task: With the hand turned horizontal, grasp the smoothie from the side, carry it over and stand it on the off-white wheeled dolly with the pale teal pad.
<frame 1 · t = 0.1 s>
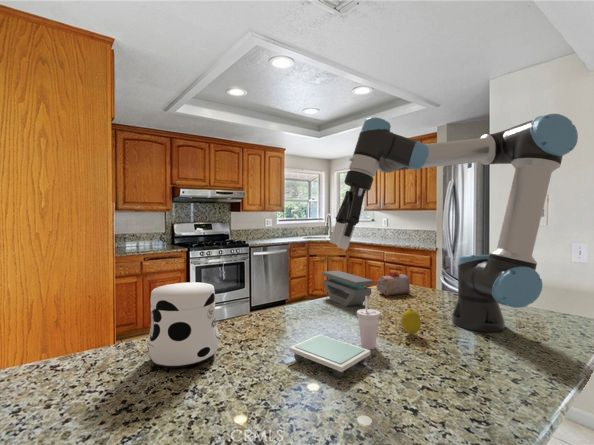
hand: (337, 246, 92), 28 cm above the countertop, tool tilted 20°, fingers open, 13 cm apart
lemon: (410, 335, 100), on the countertop
dolly: (329, 362, 82), on the countertop
milk container: (184, 358, 85), on the countertop
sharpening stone: (346, 302, 137), on the countertop
grey boxy piece: (393, 294, 151), on the countertop
smoothie: (368, 347, 91), on the countertop
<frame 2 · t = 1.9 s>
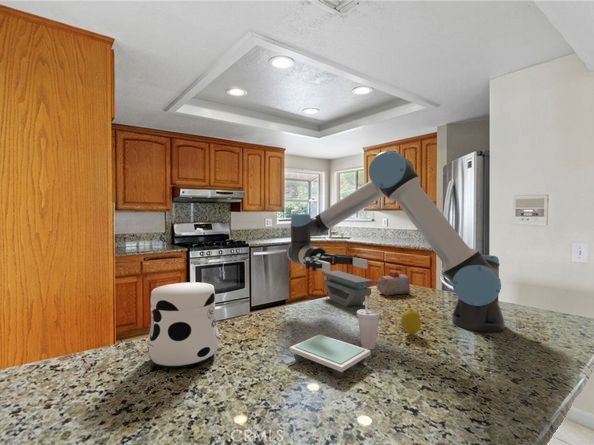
hand: (348, 265, 99), 21 cm above the countertop, tool horizontal, fingers open, 13 cm apart
nothing on the countertop moved.
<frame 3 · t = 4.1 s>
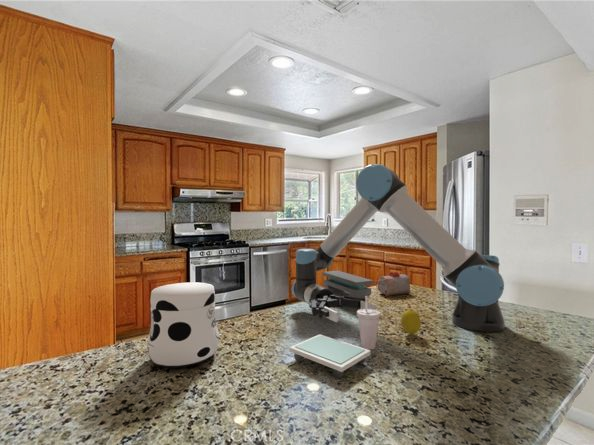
hand: (356, 313, 95), 8 cm above the countertop, tool horizontal, fingers open, 13 cm apart
nothing on the countertop moved.
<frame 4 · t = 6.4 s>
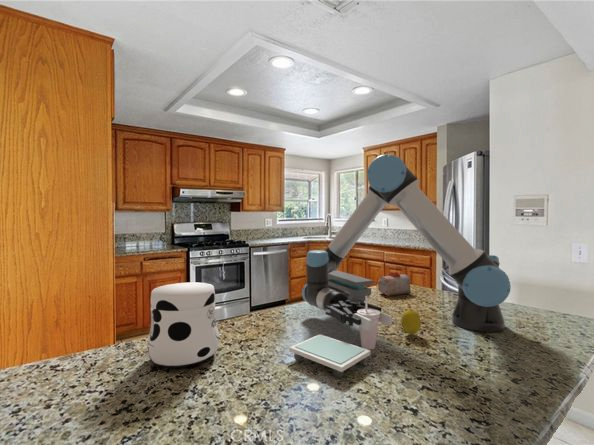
hand: (380, 323, 87), 8 cm above the countertop, tool horizontal, fingers closed on smoothie, 6 cm apart
smoothie: (368, 347, 91), on the countertop, touching gripper
everything else where it was.
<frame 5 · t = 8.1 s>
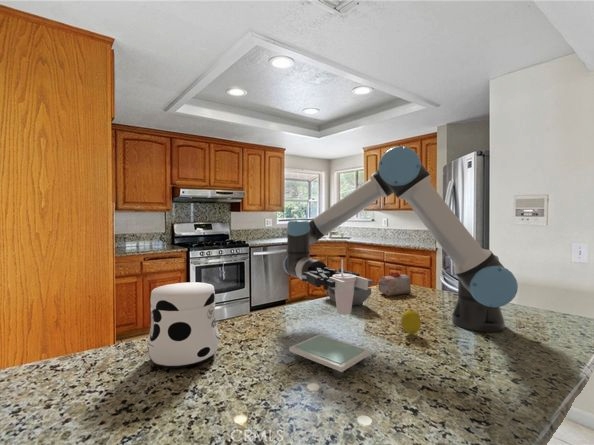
hand: (355, 285, 83), 19 cm above the countertop, tool horizontal, fingers closed on smoothie, 6 cm apart
smoothie: (344, 312, 88), point 10 cm above the countertop, touching gripper
everything else where it was.
when the fingers open (12 cm above the countertop, at t = 9.9 s): smoothie stays where it is, resting on dolly.
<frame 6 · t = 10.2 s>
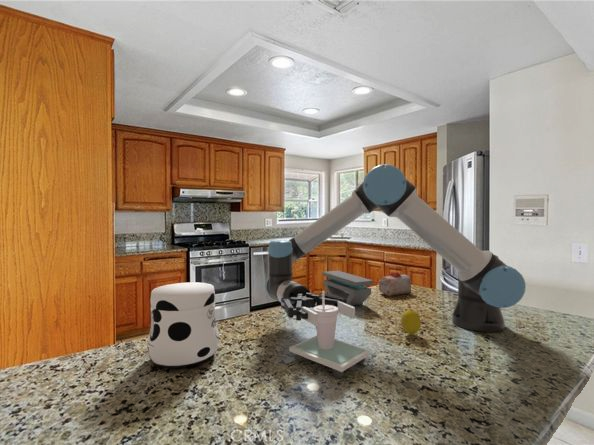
hand: (335, 316, 78), 12 cm above the countertop, tool horizontal, fingers open, 10 cm apart
smoothie: (326, 347, 82), point 3 cm above the countertop, touching dolly
everything else where it was.
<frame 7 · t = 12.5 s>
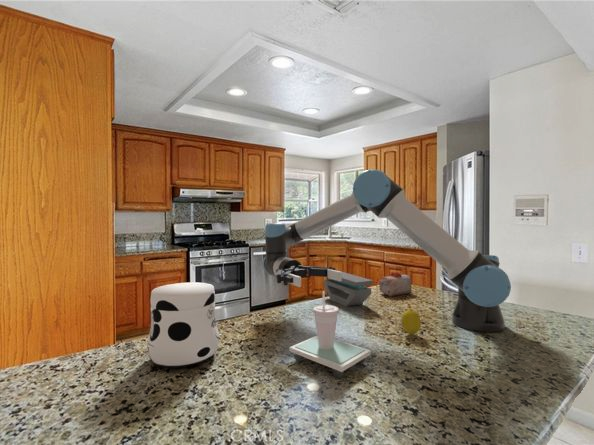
hand: (321, 279, 94), 18 cm above the countertop, tool horizontal, fingers open, 13 cm apart
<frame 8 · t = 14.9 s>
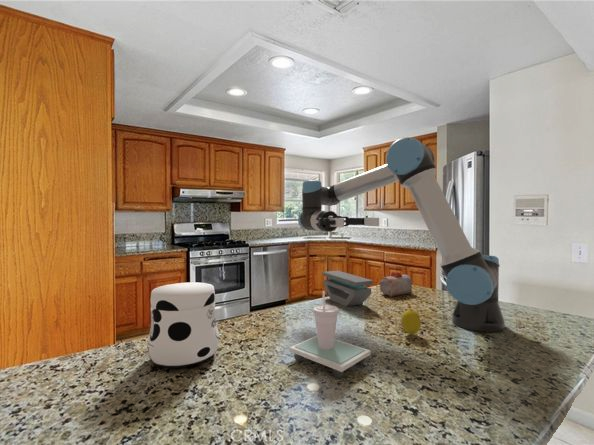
hand: (361, 222, 102), 34 cm above the countertop, tool horizontal, fingers open, 13 cm apart
at the end: smoothie inside the target area on the dolly (1.1 cm from its centre), point 3.4 cm above the dolly's base; smoothie tilted 0°; the gripper is holding nothing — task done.
